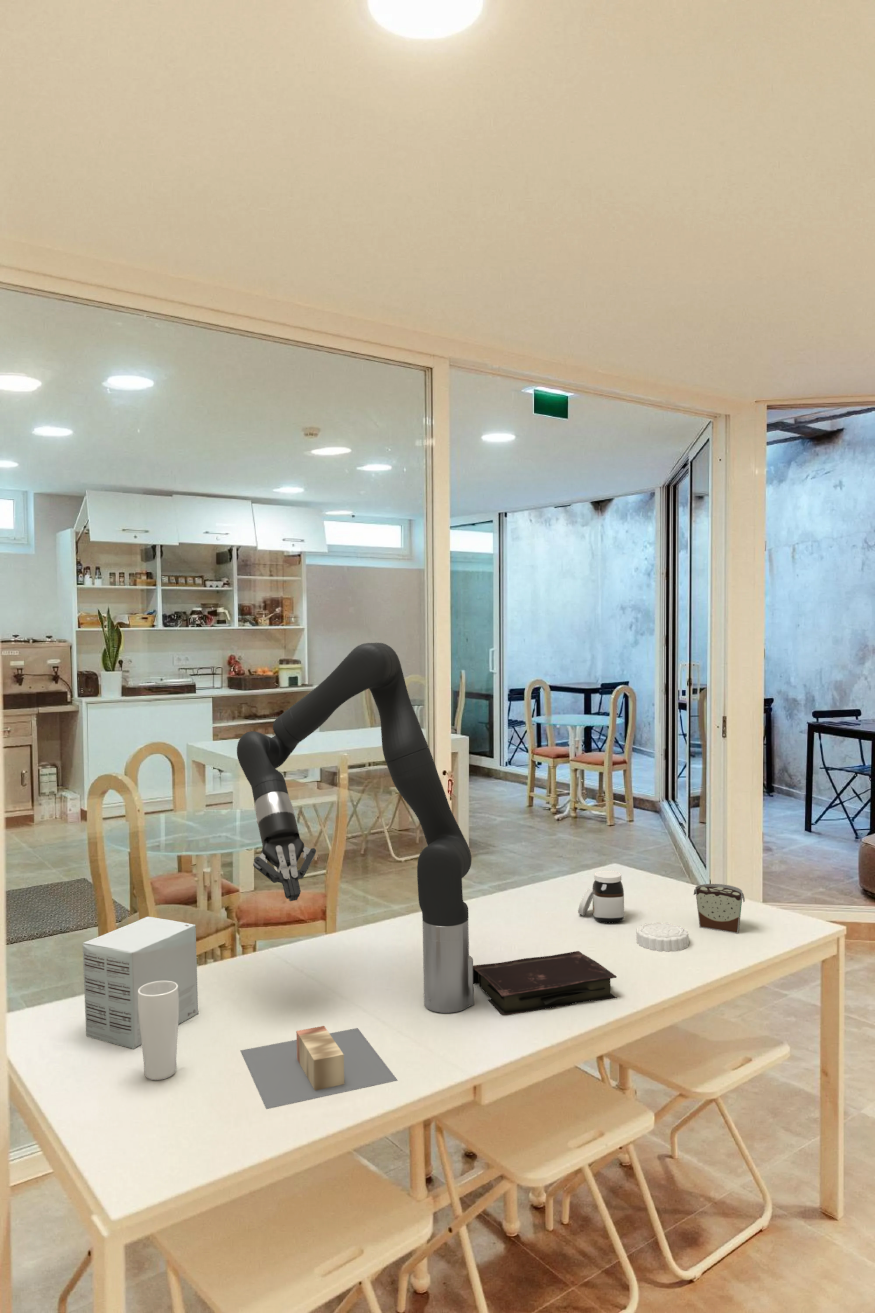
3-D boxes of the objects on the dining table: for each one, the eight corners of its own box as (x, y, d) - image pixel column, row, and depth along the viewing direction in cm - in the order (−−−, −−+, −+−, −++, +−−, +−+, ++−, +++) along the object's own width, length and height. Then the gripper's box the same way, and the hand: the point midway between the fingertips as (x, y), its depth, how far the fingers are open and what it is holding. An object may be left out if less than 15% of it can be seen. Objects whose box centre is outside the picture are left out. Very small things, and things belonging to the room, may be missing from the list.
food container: (750, 927, 229) (750, 887, 228) (744, 934, 223) (744, 893, 223) (700, 919, 235) (700, 880, 235) (693, 926, 230) (693, 886, 230)
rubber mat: (357, 1030, 175) (357, 1028, 175) (397, 1083, 154) (397, 1080, 154) (240, 1053, 166) (240, 1050, 166) (266, 1112, 146) (266, 1109, 146)
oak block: (324, 1026, 164) (343, 1054, 153) (324, 1053, 164) (344, 1084, 153) (296, 1031, 162) (314, 1060, 151) (297, 1059, 162) (314, 1090, 151)
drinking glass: (158, 1087, 154) (155, 998, 154) (131, 1077, 158) (128, 991, 157) (189, 1070, 160) (186, 985, 160) (162, 1061, 164) (159, 977, 163)
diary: (471, 986, 197) (470, 963, 197) (577, 971, 204) (577, 948, 204) (503, 1020, 179) (503, 994, 179) (619, 1002, 187) (618, 977, 187)
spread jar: (627, 925, 232) (626, 879, 232) (581, 926, 232) (581, 880, 232) (618, 910, 244) (617, 866, 244) (575, 911, 244) (574, 867, 244)
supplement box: (150, 1002, 190) (147, 915, 189) (200, 1014, 183) (197, 924, 183) (82, 1036, 174) (79, 941, 174) (134, 1050, 168) (131, 952, 168)
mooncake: (699, 945, 217) (699, 930, 217) (664, 956, 211) (664, 941, 211) (660, 932, 227) (659, 917, 227) (625, 942, 220) (625, 927, 220)
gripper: (246, 815, 182) (262, 896, 173) (311, 806, 188) (331, 885, 178) (241, 833, 188) (257, 913, 178) (304, 824, 193) (323, 901, 184)
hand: (294, 899), depth 178 cm, fingers closed
